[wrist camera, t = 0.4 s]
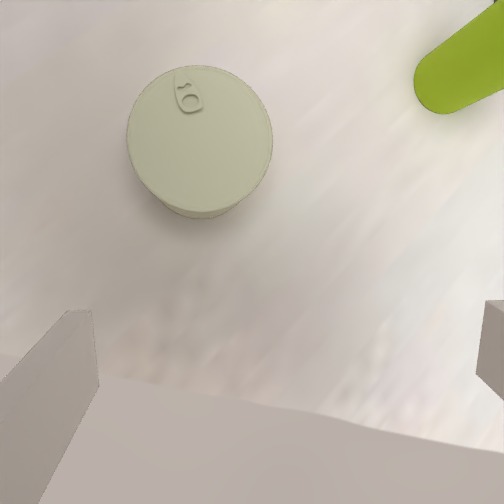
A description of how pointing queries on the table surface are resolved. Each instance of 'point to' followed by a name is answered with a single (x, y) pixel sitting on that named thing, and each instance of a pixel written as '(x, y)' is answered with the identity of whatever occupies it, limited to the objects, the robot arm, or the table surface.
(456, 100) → the soap dispenser
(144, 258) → the table surface
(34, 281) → the table surface
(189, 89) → the can
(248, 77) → the table surface
